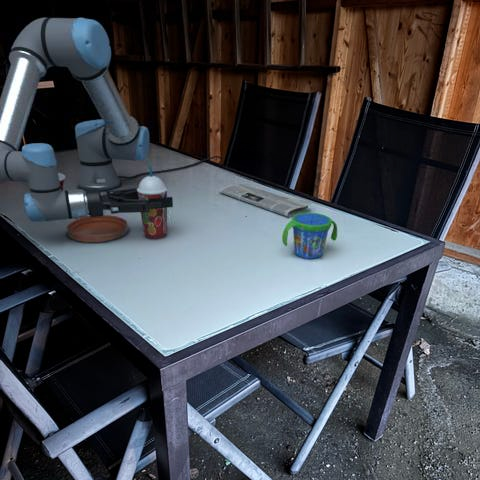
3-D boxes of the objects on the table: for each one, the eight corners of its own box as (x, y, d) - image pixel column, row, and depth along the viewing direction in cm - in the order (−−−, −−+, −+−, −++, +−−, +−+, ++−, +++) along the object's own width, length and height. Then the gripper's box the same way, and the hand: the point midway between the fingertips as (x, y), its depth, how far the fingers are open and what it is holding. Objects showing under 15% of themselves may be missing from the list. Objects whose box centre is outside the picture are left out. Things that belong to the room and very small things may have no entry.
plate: (102, 218, 152) (101, 211, 151) (139, 230, 143) (139, 223, 142) (56, 233, 140) (54, 226, 139) (93, 248, 131) (92, 240, 130)
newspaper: (219, 193, 176) (219, 184, 174) (244, 187, 183) (244, 178, 182) (290, 219, 154) (291, 208, 152) (314, 211, 162) (315, 200, 160)
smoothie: (175, 233, 142) (171, 164, 132) (159, 242, 135) (154, 171, 125) (151, 228, 145) (146, 161, 134) (135, 237, 138) (128, 167, 128)
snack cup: (327, 244, 137) (331, 210, 131) (342, 259, 128) (347, 223, 123) (275, 248, 133) (277, 213, 128) (287, 264, 125) (289, 227, 119)
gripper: (87, 205, 140) (163, 199, 146) (90, 229, 123) (177, 222, 129) (83, 179, 136) (162, 174, 142) (86, 201, 119) (176, 194, 125)
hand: (169, 197), depth 136 cm, fingers closed on smoothie, 8 cm apart
